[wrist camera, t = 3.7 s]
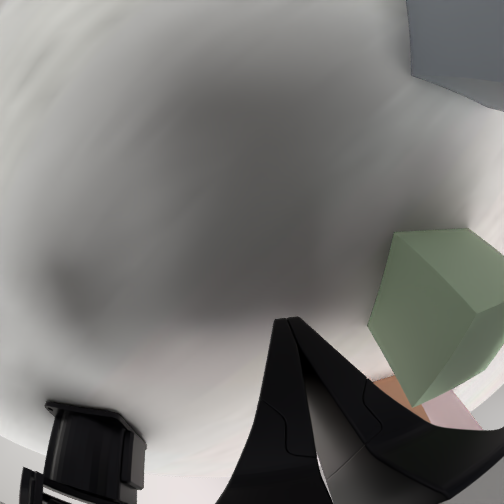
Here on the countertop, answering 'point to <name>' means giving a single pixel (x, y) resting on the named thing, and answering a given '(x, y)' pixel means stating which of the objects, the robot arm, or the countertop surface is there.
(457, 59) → the slate block
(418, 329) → the green block
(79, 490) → the robot arm
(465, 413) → the smoothie
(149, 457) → the countertop surface
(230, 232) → the countertop surface
